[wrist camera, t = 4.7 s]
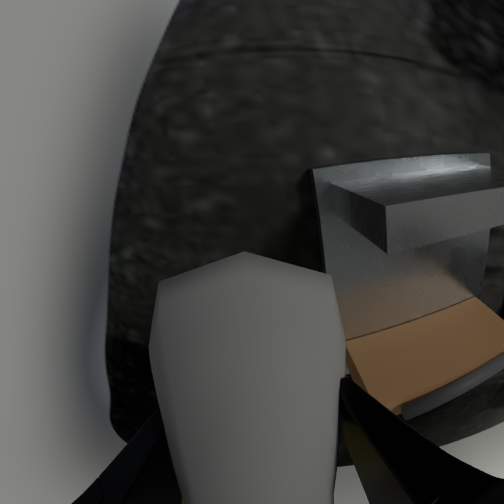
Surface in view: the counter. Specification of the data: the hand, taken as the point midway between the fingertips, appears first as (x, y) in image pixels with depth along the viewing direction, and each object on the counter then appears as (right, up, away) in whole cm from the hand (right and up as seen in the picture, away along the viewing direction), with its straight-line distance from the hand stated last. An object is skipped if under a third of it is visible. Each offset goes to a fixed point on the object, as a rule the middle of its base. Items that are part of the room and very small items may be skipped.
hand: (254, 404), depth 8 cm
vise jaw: (+14, -2, +13) cm, 19 cm away
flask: (0, +1, +3) cm, 3 cm away
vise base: (+13, +4, +12) cm, 18 cm away
